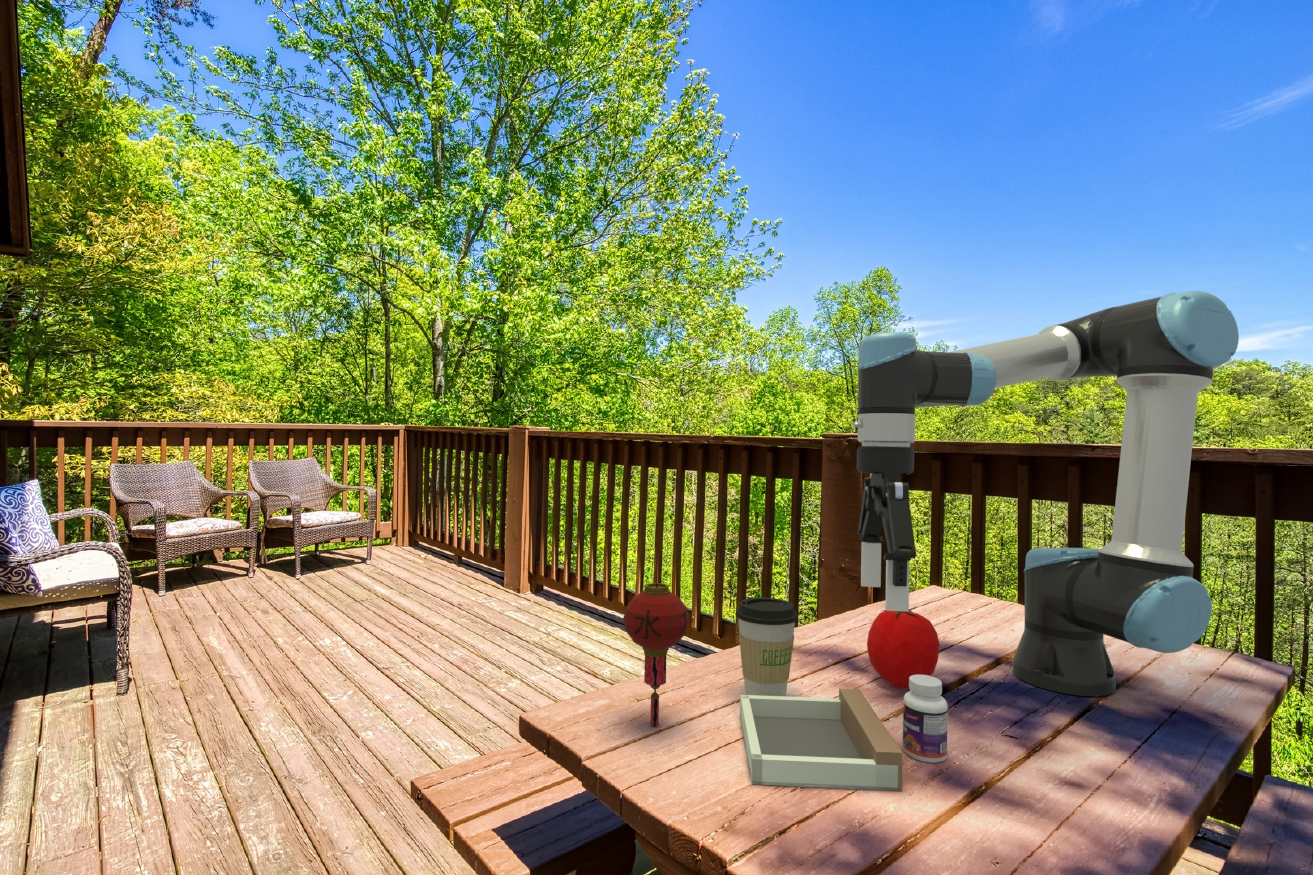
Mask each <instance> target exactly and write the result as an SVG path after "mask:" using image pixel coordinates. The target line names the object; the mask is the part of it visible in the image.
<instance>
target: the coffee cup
mask: <svg viewBox="0 0 1313 875" xmlns="http://www.w3.org/2000/svg"><path fill="white" fill-rule="evenodd" d="M735 617H736V618H738V630H739V631H738V638H739V649H740V660H741V668H742V676H743V680H744V681H743V683H744V690H745V691H744V692H745V695H759V696H785V697H787V696H786V695H787V688H788V681H789V679H790V672H791V665H792V657H793V656H792V655H793V650H794V648H793V647H794V643H795V642H794V641H795V635H794V632H795V624H796V622H797V621H798V620H799V616H798V613H797V611H796V609H795V605H794V604H793V603H792V602H790V601H788V600H784V599H781V598H775V597H763V596H762V597H748V598H745V599H742V600H740V601H739V605H738V608H736V610H735Z"/></svg>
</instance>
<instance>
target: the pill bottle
mask: <svg viewBox="0 0 1313 875" xmlns="http://www.w3.org/2000/svg"><path fill="white" fill-rule="evenodd" d="M908 690H909V691H907V692H905V694H904V696H903V702H902V706H903V708H902V709H903V710H902V713H903V714H902V748H903V751H904V752H905V754H906V755H908V756H909V757H911V758H912V759H914V760H915V761H916V760H917V761H919V762H922V763H931V764H934V763H936V764H937V763H942V762H943V761H945V760H946V759H947V755H948V719H949V718H948V715H949V714H948V713H949V712H948V711H949V709H948V707H949V706H948V703H947V700H946V699H945V698H944V697H943V696H941V695H943V694H942V693H943V683H942V680H940V679H939V678H938V677H934V676H932V675H931V676H928V675H912V676H910V677H909V689H908Z"/></svg>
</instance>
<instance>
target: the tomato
mask: <svg viewBox="0 0 1313 875" xmlns="http://www.w3.org/2000/svg"><path fill="white" fill-rule="evenodd" d="M918 607H919V606H918V605H917V606H915V607H912V608H909V612H908V611H887V610H886V609H883V610H882V611H880V612H879V614H878V615H877V616H876V618H874V620H873V622H872V623H871V626H870V629H869V630H868V633H867V634H868V635H867V642H866V648H867V655H868V658H869V661H870V664H871V666H872V667H873V669H874V671H875V672H876V673H877V674H878V675H879V676H880V677H881V678H882V679H883V680H884V681H885V682H887V683H888V684H890V685H892V686H894V687H896V688H901V689H908V690H910V689H909V677H910V676H912V675H928V676H932V675H933V674H934V671H935V669H936V667H937V664H938V661H939V654H940V640H939V634H938V632H937V630H936V628H935V627H934V625H933V623H932V622H931V620H929V619H928V618H926V617H925V616H923V615H921V614H919V613H917V612H914V611H913V610H915V609H916V608H918Z"/></svg>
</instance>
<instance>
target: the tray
mask: <svg viewBox="0 0 1313 875" xmlns="http://www.w3.org/2000/svg"><path fill="white" fill-rule="evenodd" d="M739 697H740V698H739V718H740V722H741V729H742V734H743V741H744V746H745V747H744V748H745V752H746V758H747V763H748V769H749V775H750V776H749V777H750V782H751V785H757V786H758V785H760V786H762V785H763V786H783V787H800V788H801V787H804V788H819V789H820V788H823V789H825V788H826V789H842V790H843V789H845V790H847V789H848V790H867V791H883V792H884V791H888V792H903V751H902V750H901V747H899V746H898V744H897V742H896V741H895V740H894V738H893V736H892V735H891V733H890V732H889V731H888V729H887V727H886V726H885V725H884V723H883V722H882V720H881V718H880V717H879V716H878V714H877V712H876V711H875V710H874V708H873V707H872V706H871V704H870V702H869V701H868V700H867V698H866V696H865V695H864V693H863V692H862V691H861V689H859V688H841V687H840V688H838V698H835V697H808V696H807V697H806V696H786V697H785V696H759V695H746V694H740V695H739Z"/></svg>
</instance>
